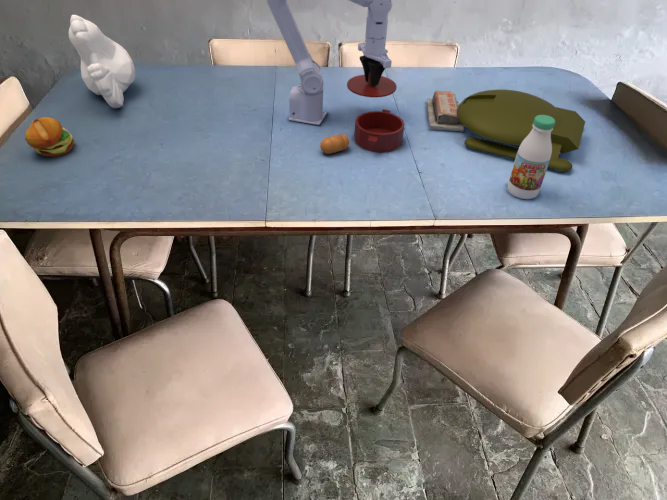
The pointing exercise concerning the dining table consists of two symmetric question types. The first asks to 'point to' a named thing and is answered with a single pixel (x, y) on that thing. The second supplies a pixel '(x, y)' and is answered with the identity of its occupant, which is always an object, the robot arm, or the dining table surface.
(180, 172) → the dining table surface
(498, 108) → the spaceship
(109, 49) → the white rounded figure
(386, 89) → the pot lid
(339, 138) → the bread roll
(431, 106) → the packaged product
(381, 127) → the pot
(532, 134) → the milk bottle
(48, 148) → the cheeseburger
